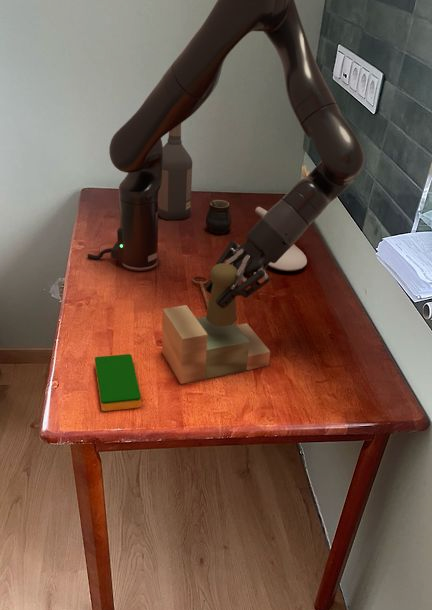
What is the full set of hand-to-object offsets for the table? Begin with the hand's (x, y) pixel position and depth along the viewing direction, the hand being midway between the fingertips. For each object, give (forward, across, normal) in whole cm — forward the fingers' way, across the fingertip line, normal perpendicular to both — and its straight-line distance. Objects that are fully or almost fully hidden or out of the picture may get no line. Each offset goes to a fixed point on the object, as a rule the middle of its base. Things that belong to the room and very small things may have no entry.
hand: (213, 298), depth 116 cm
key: (+3, -24, +17) cm, 30 cm away
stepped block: (+9, 0, +11) cm, 15 cm away
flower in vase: (-15, -33, +36) cm, 51 cm away
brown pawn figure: (+2, 0, +5) cm, 5 cm away
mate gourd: (-8, -57, +29) cm, 64 cm away
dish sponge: (+24, +2, -4) cm, 25 cm away
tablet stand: (-16, -47, +37) cm, 63 cm away
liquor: (-2, -71, +23) cm, 75 cm away
